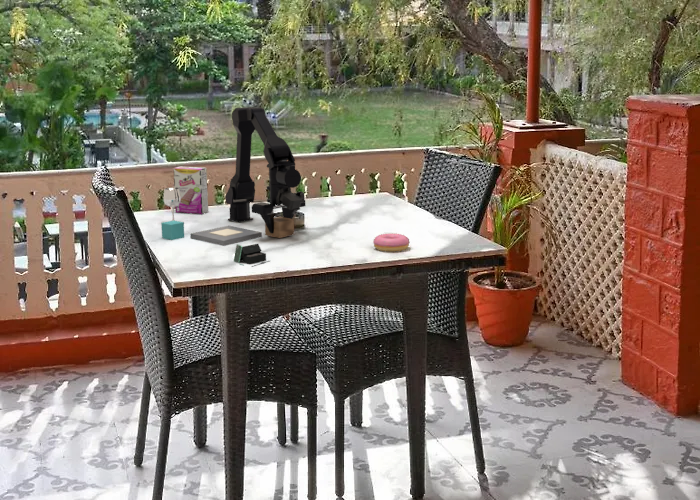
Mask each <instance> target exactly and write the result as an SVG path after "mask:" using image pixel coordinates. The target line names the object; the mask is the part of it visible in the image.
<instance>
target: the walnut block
mask: <svg viewBox="0 0 700 500" xmlns="http://www.w3.org/2000/svg"><path fill="white" fill-rule="evenodd" d="M264 232H265V233H264V235H265V236H267V237H272V238H278V239H282V238H285V237H290V236H294V235H295V219H294V218H292V219H290V218H284V217H283V216H277V217H276V216H275V217H274V232H273V234H272V233H270V232H269V230H268V228H267V226H266V224H265V223H264Z"/></svg>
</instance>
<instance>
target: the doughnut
mask: <svg viewBox="0 0 700 500" xmlns="http://www.w3.org/2000/svg"><path fill="white" fill-rule="evenodd" d="M372 241H373V246H374V248H375V249H376V250H378V251H380V252H385V251H386V252H387V253H389V252H391V253H394V252H395V251H397V252H403V251H406V250H407V249H408V248H409V246H410V242H411V241H410V239H409V237H408V236H406V235H404V234H401V233H380V234H378V235H376V237H374V238H373V239H372ZM402 250H403V251H402ZM395 253H396V252H395Z"/></svg>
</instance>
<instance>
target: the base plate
mask: <svg viewBox="0 0 700 500" xmlns="http://www.w3.org/2000/svg"><path fill="white" fill-rule="evenodd" d="M189 234H190V239H193V240H197V241H202V242H205V243H206V242H207V243H211V244H215V245H220V246H224V247H225V246H228V245H233V244H235V243H237V244H238V243H240V242H245V241H251V240H254V239H257V238H262V237H263V232H262V231H259V230H254V229H249V228H245V227H239V226H234V225H233V226H232V225H224V226H220V227H215V228H211V229H207V230H201V231H197V232H193V233H189Z"/></svg>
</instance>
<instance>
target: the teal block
mask: <svg viewBox="0 0 700 500" xmlns="http://www.w3.org/2000/svg"><path fill="white" fill-rule="evenodd" d="M174 220H175V219H174ZM174 220H173V221H172V220H169V221H163V222H161V224H160V225H161V238H162V239H164V240H165V239H166V240H170V241H175V240H179V239H185V225H184V224H185V222H183V221H178V220H175V221H174Z"/></svg>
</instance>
